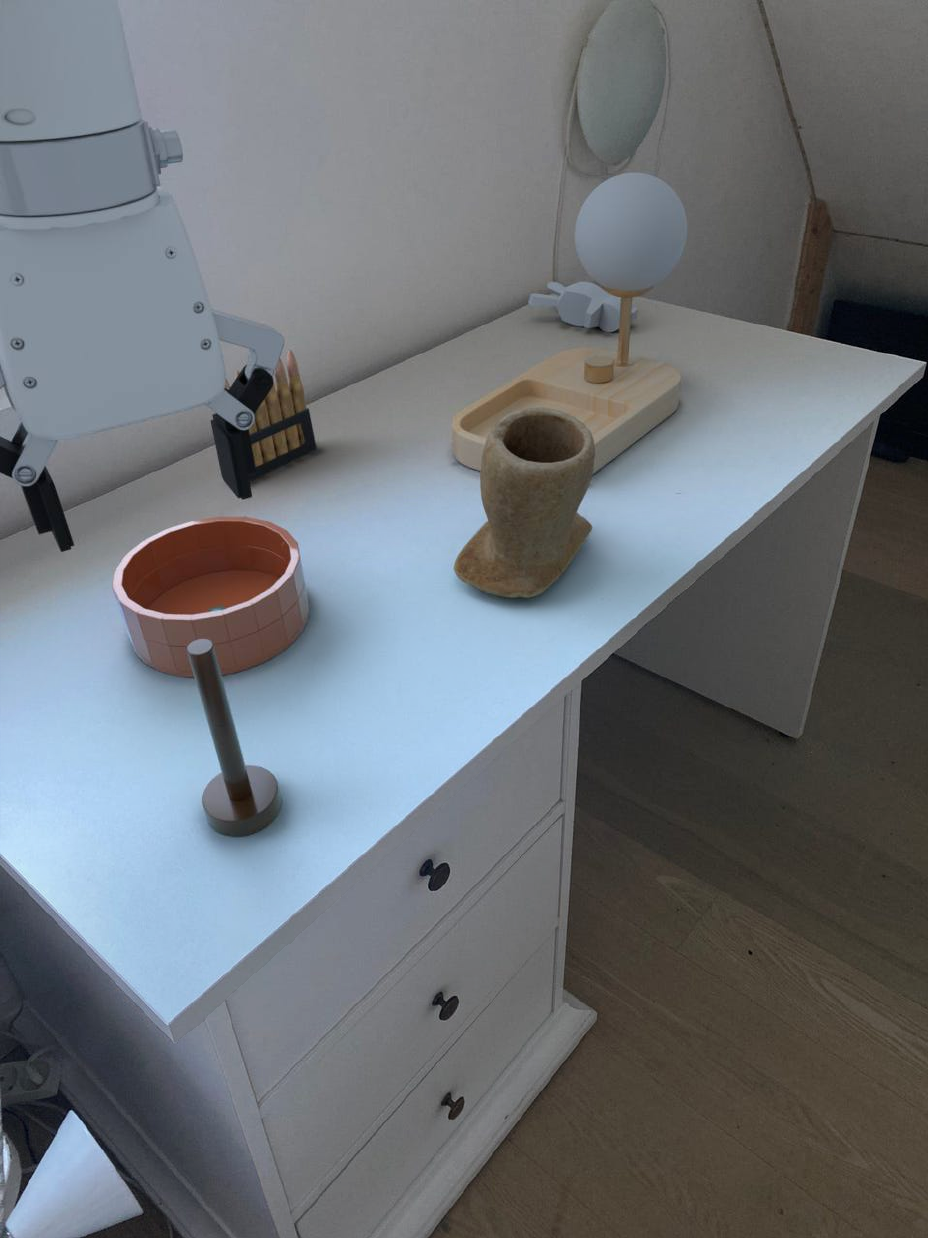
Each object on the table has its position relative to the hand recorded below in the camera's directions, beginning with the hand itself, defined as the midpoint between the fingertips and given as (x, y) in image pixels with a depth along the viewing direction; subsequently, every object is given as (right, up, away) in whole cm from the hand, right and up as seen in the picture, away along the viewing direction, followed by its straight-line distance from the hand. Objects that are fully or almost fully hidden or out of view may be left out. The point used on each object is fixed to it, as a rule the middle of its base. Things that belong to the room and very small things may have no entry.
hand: (153, 513), depth 52 cm
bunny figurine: (+35, +38, +87) cm, 101 cm away
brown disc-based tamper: (+2, -19, +15) cm, 24 cm away
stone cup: (+24, -1, +38) cm, 44 cm away
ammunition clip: (-4, +12, +56) cm, 57 cm away
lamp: (+30, +18, +61) cm, 71 cm away
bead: (-3, -7, +28) cm, 29 cm away
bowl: (-5, -6, +32) cm, 33 cm away
